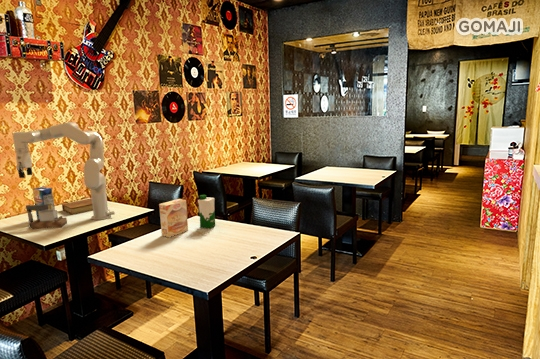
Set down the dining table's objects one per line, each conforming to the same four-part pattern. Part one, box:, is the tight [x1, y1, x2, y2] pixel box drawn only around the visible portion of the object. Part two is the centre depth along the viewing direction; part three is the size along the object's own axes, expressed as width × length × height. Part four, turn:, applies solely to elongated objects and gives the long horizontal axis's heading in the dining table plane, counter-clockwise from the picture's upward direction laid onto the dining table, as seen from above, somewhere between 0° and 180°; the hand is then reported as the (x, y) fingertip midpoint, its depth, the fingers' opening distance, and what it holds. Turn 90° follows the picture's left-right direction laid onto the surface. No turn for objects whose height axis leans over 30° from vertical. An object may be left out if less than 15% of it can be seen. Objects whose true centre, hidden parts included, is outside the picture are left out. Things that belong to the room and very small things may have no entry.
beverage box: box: [32, 186, 56, 220], centre depth 261 cm, size 7×11×22 cm, turn 61°
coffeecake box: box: [158, 198, 189, 238], centre depth 227 cm, size 15×7×20 cm, turn 143°
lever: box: [25, 204, 53, 212], centre depth 245 cm, size 16×3×3 cm, turn 96°
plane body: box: [31, 215, 68, 230], centre depth 248 cm, size 18×9×5 cm, turn 96°
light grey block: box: [39, 209, 59, 222], centre depth 247 cm, size 9×5×7 cm, turn 96°
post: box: [26, 210, 34, 229], centre depth 246 cm, size 4×4×11 cm
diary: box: [61, 198, 93, 216], centre depth 286 cm, size 23×19×6 cm
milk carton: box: [197, 194, 216, 229], centre depth 238 cm, size 9×9×20 cm
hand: (26, 176), depth 254 cm, fingers open, 9 cm apart
